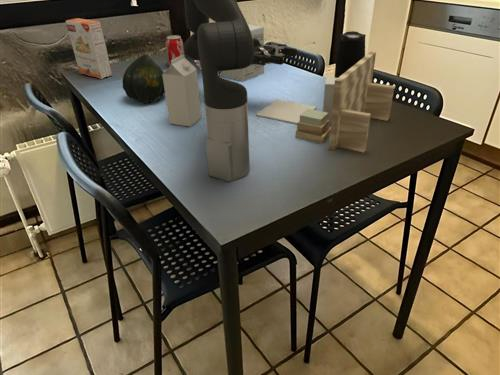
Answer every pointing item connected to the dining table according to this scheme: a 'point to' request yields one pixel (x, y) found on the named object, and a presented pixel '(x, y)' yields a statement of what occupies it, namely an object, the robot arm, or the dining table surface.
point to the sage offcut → (314, 117)
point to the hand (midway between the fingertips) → (290, 56)
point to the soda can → (174, 47)
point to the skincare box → (329, 96)
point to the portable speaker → (349, 51)
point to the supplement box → (251, 70)
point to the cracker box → (89, 47)
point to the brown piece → (358, 105)
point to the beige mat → (284, 111)
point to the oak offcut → (313, 128)
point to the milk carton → (182, 92)
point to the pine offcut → (313, 136)
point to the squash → (144, 80)
